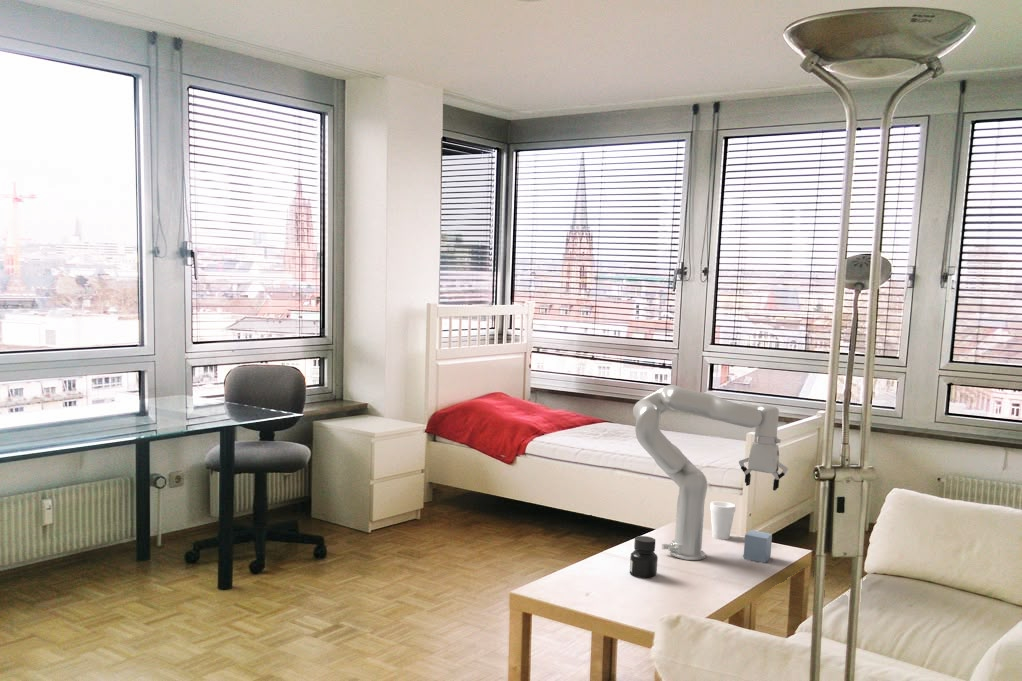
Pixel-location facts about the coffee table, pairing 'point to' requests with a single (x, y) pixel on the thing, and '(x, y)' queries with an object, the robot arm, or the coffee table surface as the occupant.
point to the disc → (759, 561)
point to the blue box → (757, 546)
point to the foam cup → (721, 519)
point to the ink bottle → (643, 558)
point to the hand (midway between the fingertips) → (761, 487)
